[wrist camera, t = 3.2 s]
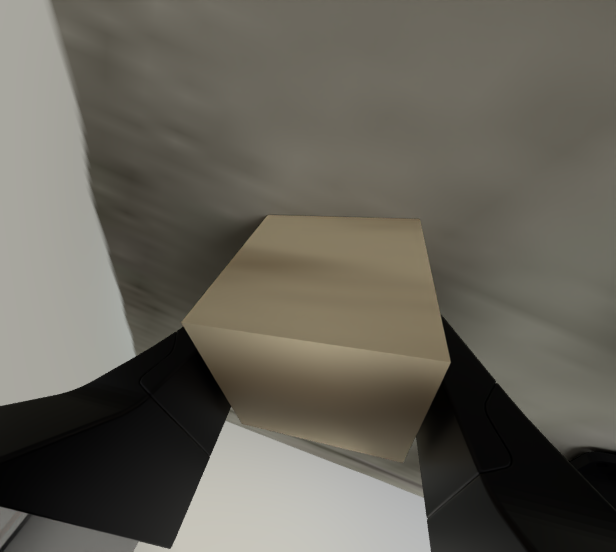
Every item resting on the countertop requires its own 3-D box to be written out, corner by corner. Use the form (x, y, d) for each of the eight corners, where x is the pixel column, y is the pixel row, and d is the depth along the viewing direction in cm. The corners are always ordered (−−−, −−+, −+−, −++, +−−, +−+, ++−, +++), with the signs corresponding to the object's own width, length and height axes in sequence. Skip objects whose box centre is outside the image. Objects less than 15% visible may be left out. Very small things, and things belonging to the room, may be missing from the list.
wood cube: (397, 326, 11) (403, 463, 7) (287, 312, 12) (241, 423, 8) (419, 218, 8) (450, 362, 4) (267, 214, 9) (180, 322, 5)
